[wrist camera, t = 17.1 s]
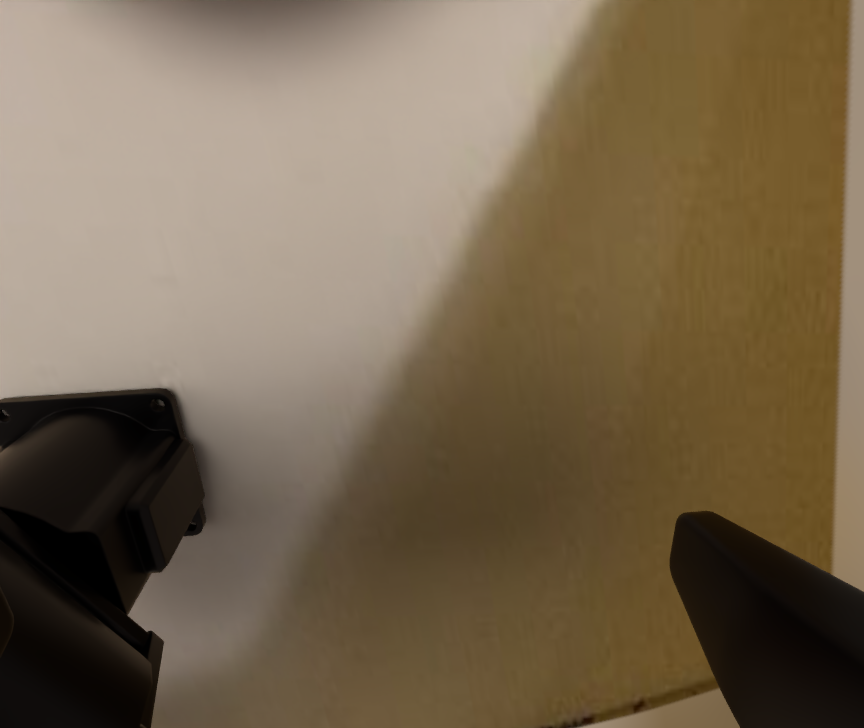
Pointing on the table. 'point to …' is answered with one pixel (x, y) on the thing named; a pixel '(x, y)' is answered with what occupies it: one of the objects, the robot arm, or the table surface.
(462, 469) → the table surface
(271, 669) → the table surface
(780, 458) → the table surface
